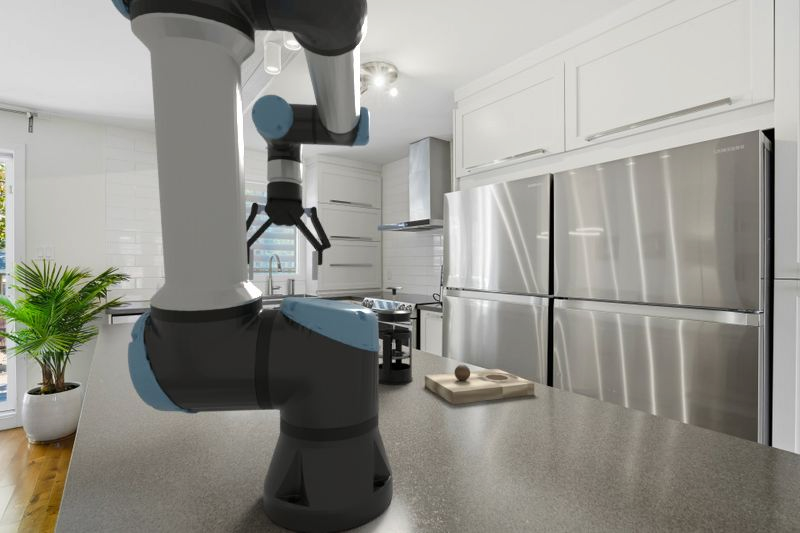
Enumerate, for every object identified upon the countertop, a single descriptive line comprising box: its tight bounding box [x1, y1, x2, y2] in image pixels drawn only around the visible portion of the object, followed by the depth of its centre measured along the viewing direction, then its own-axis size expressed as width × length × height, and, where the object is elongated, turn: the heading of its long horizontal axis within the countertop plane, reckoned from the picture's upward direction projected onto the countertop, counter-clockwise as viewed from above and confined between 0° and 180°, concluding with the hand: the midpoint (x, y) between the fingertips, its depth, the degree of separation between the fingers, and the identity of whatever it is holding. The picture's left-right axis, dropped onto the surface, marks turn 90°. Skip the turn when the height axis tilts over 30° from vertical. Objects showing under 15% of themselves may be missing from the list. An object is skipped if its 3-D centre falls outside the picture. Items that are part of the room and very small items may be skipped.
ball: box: [453, 364, 471, 381], centre depth 92 cm, size 4×4×4 cm
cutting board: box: [424, 368, 535, 405], centre depth 94 cm, size 14×20×2 cm
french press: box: [375, 286, 414, 386], centre depth 102 cm, size 12×9×23 cm
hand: (283, 280), depth 90 cm, fingers open, 13 cm apart
